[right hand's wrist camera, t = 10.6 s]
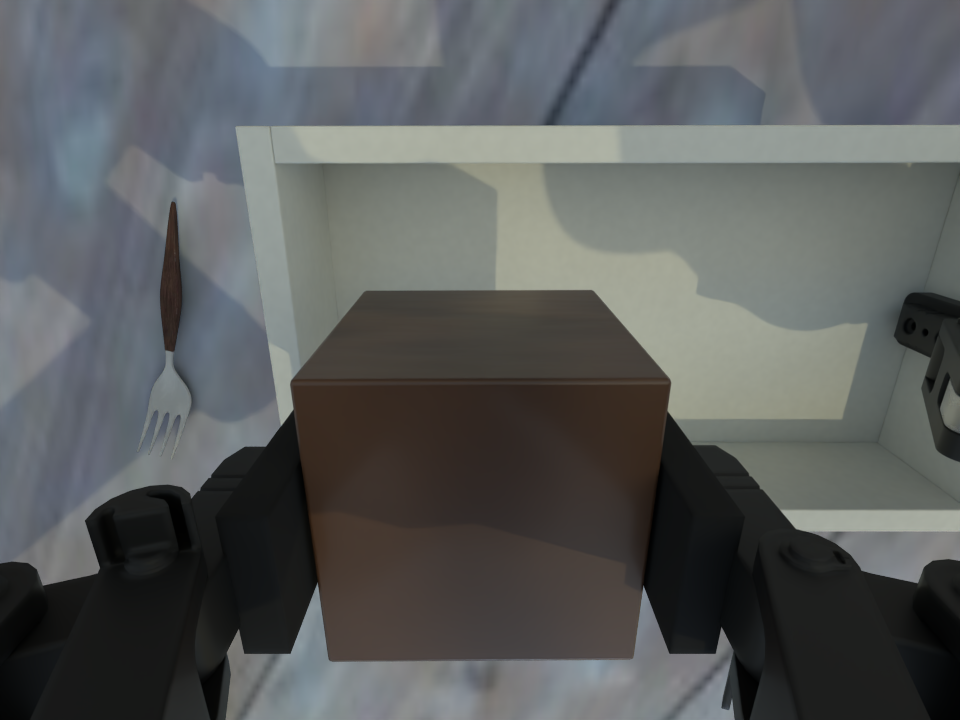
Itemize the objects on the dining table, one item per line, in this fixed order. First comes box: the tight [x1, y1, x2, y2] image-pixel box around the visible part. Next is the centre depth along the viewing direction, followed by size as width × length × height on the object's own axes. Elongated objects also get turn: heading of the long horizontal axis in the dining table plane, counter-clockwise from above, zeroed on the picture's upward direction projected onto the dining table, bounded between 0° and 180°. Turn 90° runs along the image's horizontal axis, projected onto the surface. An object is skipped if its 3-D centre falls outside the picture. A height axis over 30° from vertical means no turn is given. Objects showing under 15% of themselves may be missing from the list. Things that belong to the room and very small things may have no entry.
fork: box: [137, 202, 192, 459], centre depth 32 cm, size 3×16×2 cm, turn 167°
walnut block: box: [290, 290, 671, 662], centre depth 12 cm, size 6×6×6 cm
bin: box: [235, 125, 960, 531], centre depth 20 cm, size 26×14×6 cm, turn 90°
